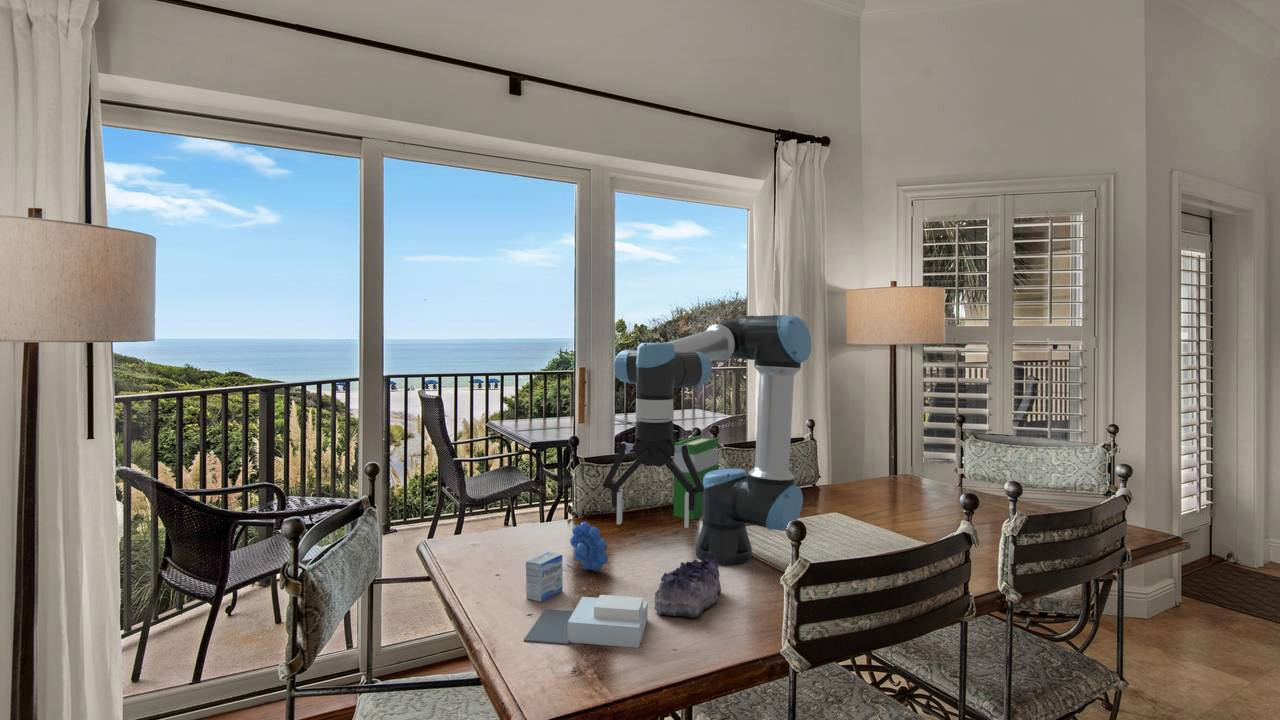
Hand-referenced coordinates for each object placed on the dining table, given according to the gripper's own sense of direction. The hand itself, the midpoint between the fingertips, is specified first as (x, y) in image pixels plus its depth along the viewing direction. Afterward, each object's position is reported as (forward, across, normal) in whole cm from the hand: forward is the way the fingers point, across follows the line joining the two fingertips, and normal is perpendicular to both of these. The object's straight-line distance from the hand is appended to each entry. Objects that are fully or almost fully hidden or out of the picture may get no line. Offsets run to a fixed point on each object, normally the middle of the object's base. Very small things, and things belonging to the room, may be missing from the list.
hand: (652, 524), depth 130 cm
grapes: (+22, +20, -30) cm, 41 cm away
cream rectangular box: (+18, +6, +2) cm, 19 cm away
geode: (+22, -7, -14) cm, 27 cm away
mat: (+22, +19, +2) cm, 29 cm away
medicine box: (+22, +26, -14) cm, 37 cm away
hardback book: (+21, -6, -87) cm, 90 cm away
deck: (+22, +8, +2) cm, 23 cm away
